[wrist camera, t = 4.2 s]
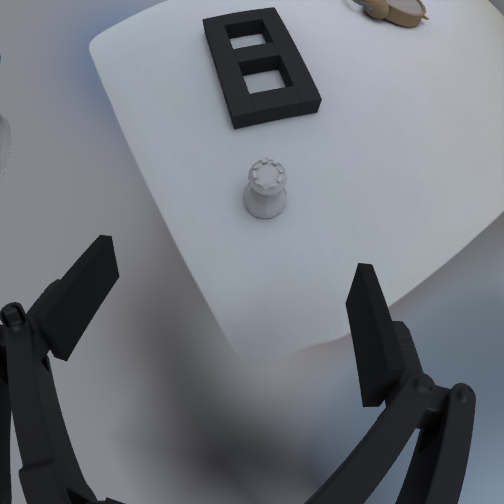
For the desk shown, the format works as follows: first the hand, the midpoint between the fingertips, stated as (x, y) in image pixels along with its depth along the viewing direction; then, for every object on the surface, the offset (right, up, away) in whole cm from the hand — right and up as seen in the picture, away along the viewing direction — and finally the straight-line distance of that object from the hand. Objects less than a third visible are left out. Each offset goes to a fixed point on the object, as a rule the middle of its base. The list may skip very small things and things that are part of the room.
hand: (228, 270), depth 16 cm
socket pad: (+2, +25, +19) cm, 31 cm away
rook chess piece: (+3, +7, +17) cm, 18 cm away
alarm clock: (+24, +43, +21) cm, 53 cm away
